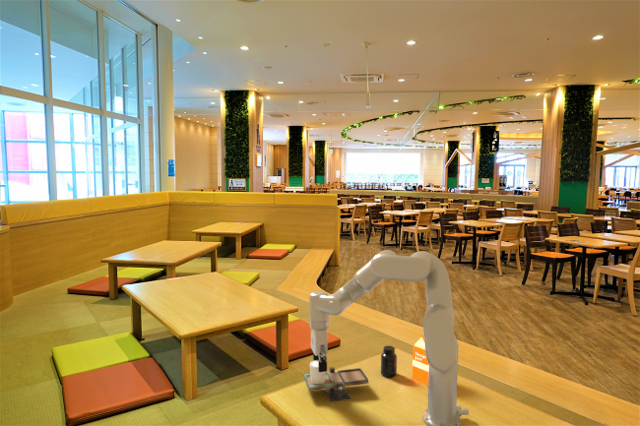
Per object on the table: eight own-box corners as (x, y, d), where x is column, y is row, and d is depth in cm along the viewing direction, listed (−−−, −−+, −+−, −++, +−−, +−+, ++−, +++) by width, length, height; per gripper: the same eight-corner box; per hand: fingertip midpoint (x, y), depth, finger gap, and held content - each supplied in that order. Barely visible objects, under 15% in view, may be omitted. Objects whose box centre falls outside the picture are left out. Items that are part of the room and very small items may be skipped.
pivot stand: (340, 380, 162) (340, 365, 161) (350, 399, 147) (351, 383, 147) (321, 382, 160) (321, 367, 160) (330, 401, 146) (330, 385, 145)
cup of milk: (328, 377, 154) (328, 360, 154) (325, 385, 148) (325, 368, 147) (311, 375, 156) (311, 358, 155) (307, 384, 149) (307, 366, 149)
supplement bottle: (378, 371, 170) (378, 345, 169) (391, 369, 172) (392, 343, 171) (385, 379, 163) (385, 351, 162) (399, 377, 165) (400, 349, 164)
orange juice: (412, 378, 163) (413, 333, 162) (423, 372, 169) (424, 328, 168) (428, 386, 158) (429, 338, 156) (439, 378, 164) (440, 333, 162)
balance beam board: (360, 371, 161) (360, 367, 161) (368, 383, 151) (368, 379, 151) (304, 378, 156) (304, 374, 156) (308, 391, 146) (308, 387, 146)
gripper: (305, 317, 158) (306, 357, 159) (314, 332, 141) (315, 377, 142) (323, 315, 159) (324, 355, 160) (334, 330, 143) (334, 375, 144)
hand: (320, 365), depth 151 cm, fingers open, 9 cm apart
